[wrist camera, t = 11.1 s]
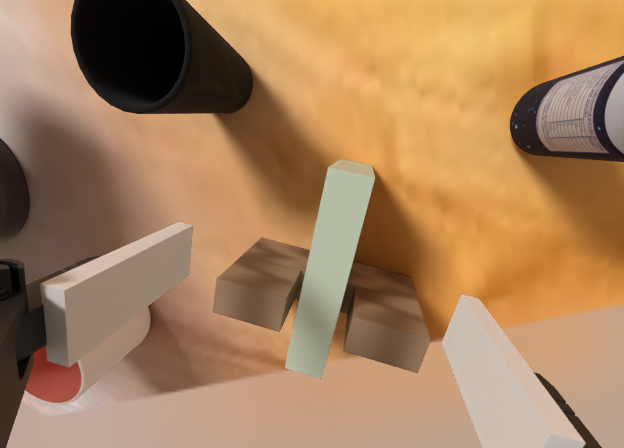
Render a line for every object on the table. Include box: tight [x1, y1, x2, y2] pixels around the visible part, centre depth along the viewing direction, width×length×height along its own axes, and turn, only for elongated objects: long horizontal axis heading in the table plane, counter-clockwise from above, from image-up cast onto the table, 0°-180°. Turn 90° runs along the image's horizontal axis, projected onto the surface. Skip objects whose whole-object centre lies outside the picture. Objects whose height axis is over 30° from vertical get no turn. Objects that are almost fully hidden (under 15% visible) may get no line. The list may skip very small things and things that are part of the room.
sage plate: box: [285, 159, 375, 379], centre depth 25 cm, size 16×3×10 cm, turn 168°
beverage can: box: [510, 56, 624, 162], centre depth 19 cm, size 6×6×12 cm
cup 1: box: [25, 307, 150, 404], centre depth 33 cm, size 10×10×10 cm
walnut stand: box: [213, 238, 431, 373], centre depth 26 cm, size 16×3×10 cm, turn 78°
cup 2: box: [71, 0, 253, 114], centre depth 22 cm, size 8×8×12 cm
